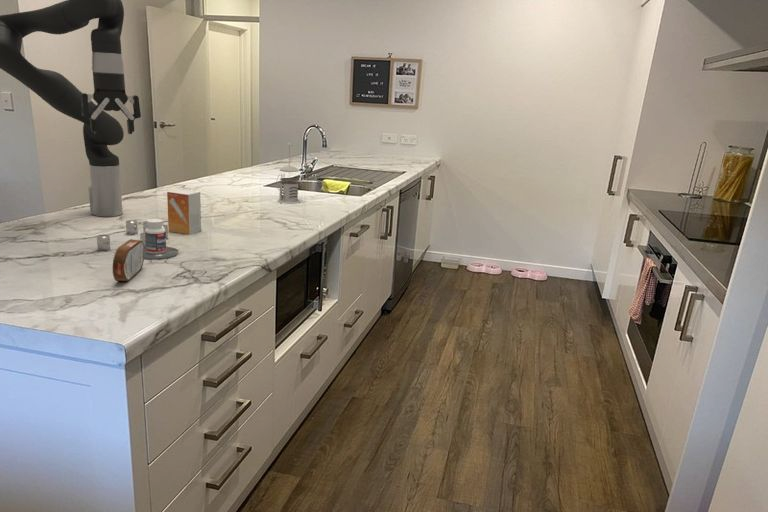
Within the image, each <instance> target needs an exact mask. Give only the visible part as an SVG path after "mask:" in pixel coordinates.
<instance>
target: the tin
mask: <svg viewBox="0 0 768 512" xmlns="http://www.w3.org/2000/svg"><path fill="white" fill-rule="evenodd" d="M144 262H145V259H144V244H143V242H142V241H140V239H133V238H130V239H128V240H127V241H126V242H124V243H122V244H121V245H119V246H118V247H117V249H116V250H115V253H114V255H113V260H112V275H113V279H114V280H115V281H116V282H129V281H131V280H132V279H133V278H134V277H135V276H136V275H137V274H138V273H139V272H141V271H142V268H143V266H144Z"/></svg>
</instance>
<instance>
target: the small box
mask: <svg viewBox="0 0 768 512" xmlns="http://www.w3.org/2000/svg"><path fill="white" fill-rule="evenodd" d="M166 193H167V194H166V196H167V221H168V222H167V223H168V224H167V227H168V232H174V233H178V234H183V233H184V235H188V234H190V235H193V234H196V233H198V232H201V231H202V218H201V217H202V214H201V213H202V211H201V210H202V209H201V191H196V190H195V191H194V190H189V189H181V188H177V189H173V190H169V191H167V192H166ZM192 233H193V234H192Z"/></svg>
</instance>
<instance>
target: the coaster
mask: <svg viewBox="0 0 768 512" xmlns="http://www.w3.org/2000/svg"><path fill="white" fill-rule="evenodd" d="M177 254H178V255H179V250H178V248H175V247H172V246H166V252H164V253H161V254H150V253H147V252H146V248H144V260H150V259H158V260H164V259H163V258H167V259H170V258H169V257H172V258H174V257H173V256H175V255H177ZM178 255H177V256H178ZM175 257H176V256H175Z"/></svg>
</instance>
